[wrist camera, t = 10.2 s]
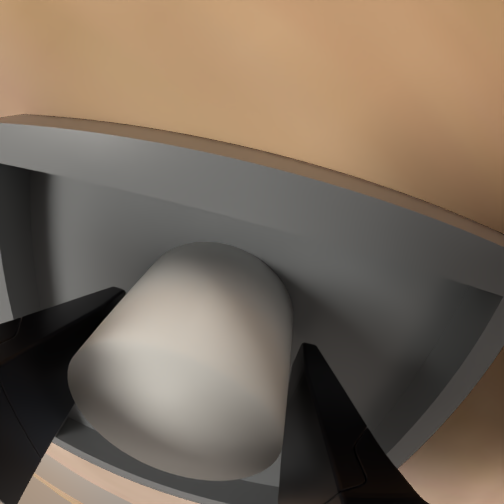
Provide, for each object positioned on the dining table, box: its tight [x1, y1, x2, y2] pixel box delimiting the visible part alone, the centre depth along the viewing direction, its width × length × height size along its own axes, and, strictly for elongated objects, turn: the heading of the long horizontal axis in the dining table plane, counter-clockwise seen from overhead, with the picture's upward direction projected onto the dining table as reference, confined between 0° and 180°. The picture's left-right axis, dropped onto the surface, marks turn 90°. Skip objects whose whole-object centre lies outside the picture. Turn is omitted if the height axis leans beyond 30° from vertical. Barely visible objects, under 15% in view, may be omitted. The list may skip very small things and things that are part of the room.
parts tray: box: [0, 114, 504, 504], centre depth 11 cm, size 17×17×2 cm
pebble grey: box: [68, 242, 293, 481], centre depth 8 cm, size 5×5×4 cm
